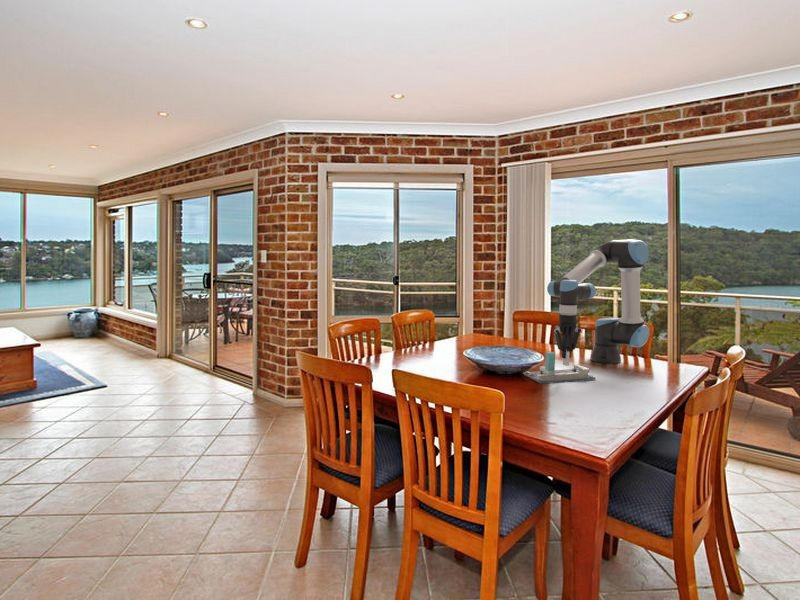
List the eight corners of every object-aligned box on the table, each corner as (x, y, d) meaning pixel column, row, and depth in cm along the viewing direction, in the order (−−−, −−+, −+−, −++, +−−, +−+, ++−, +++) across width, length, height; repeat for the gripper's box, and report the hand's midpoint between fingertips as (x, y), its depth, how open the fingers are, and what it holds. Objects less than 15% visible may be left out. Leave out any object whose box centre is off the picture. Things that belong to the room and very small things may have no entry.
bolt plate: (575, 371, 232) (575, 367, 232) (595, 379, 217) (595, 376, 216) (523, 374, 226) (523, 371, 225) (540, 383, 210) (540, 380, 210)
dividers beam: (577, 372, 226) (577, 364, 226) (589, 377, 217) (589, 369, 216) (529, 375, 220) (530, 366, 220) (540, 380, 211) (540, 372, 211)
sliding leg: (543, 373, 222) (544, 349, 221) (554, 379, 213) (555, 353, 211) (538, 373, 221) (538, 349, 220) (548, 379, 212) (549, 353, 211)
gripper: (575, 312, 218) (573, 362, 221) (550, 313, 215) (548, 363, 218) (585, 314, 211) (583, 366, 214) (559, 315, 208) (557, 367, 211)
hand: (565, 364), depth 216 cm, fingers closed
